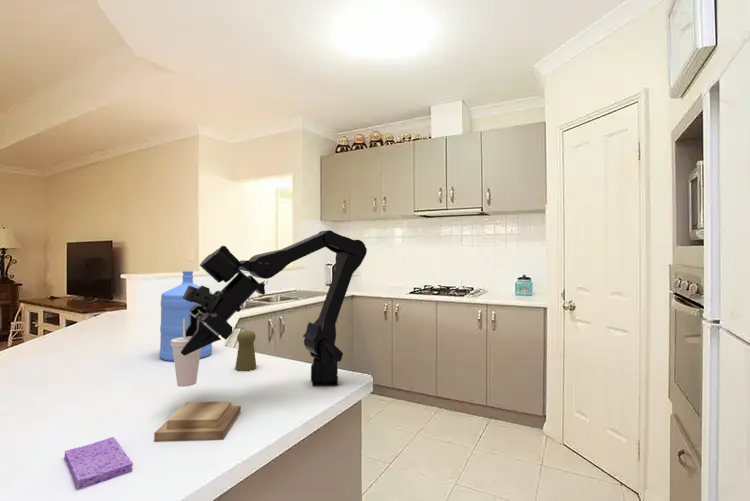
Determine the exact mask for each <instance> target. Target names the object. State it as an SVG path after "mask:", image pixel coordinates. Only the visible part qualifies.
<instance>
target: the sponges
mask: <svg viewBox="0 0 750 501" xmlns="http://www.w3.org/2000/svg"><path fill="white" fill-rule="evenodd" d="M64 460H65V462H66V465H67V467H68V469H69V473H70V474H71V478H72V479H73V483H74V486H75V489H76V490H77V491H78V490H81V489H84V488H87V487H90V486H93V485H95V484H98V483H101V482H104V481H107V480H108V481H109V480H110V479H114V478H116V477H119V476H122V475H125V474H128V473H130V472H133V467H134V462H133V461H132V460H131V458H130V456H128V455H127V453H126V451H125V450H124V448H122V446H121V445H120V443H119V441H117V439H116V437H115V436H111V437H108V438H106V439H101V440H98V441H96V442H93V443H90V444H86V445H82V446H79V447H74V448H70V449H68V450H64Z"/></svg>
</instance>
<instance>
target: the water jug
mask: <svg viewBox="0 0 750 501" xmlns="http://www.w3.org/2000/svg"><path fill="white" fill-rule="evenodd" d="M193 273H194V271H191V270H188V271H187V270H185V271H182V277H181V278H182V282H181V284H179V285H177V286H175V287H172V288H170V289H168V290H166V291H164V292H161V293H162V294H161V298H160V325H159V326H160V327H159V332H160V343H159V344H160V349H159V358H160V359H162V360H164V361H168V362H169V361H170V362H174V356H173V348H172V346H171V340H172V339H176V338H181V337H182V336H183V319H186V329H187V327H188V326H189V324H190V318H189V314H191V315H192V316H193V314H192V313H191V312H190V311H189V310H190V309H191V308H192V307H193V306H194V305H198V304H197V303H195V302H189V301H186V300H184V299H183V296H184V294H185V292H186V290H187V288H188V286H189V285H190V286H192V287H195V288H197V289H198V288H199V287H200V286H199V285H197V284H195V283H194V281H193V280H194V275H193ZM210 294H213V292H212V291H211V290H210ZM212 344H213V343H211V344H209V345H206V346H204V347H202V348H201V351H200V359H203V358H206V357H208V356H210V355H211V353H213V352H212V351H213V345H212Z"/></svg>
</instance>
